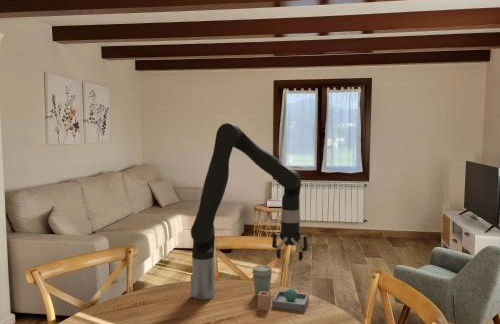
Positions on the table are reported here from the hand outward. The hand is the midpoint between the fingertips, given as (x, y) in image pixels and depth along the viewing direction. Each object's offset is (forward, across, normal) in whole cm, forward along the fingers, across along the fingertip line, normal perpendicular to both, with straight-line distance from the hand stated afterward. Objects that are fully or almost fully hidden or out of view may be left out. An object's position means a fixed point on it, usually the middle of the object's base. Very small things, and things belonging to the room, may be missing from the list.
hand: (289, 259), depth 164 cm
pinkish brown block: (+19, -9, -7) cm, 22 cm away
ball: (+17, +1, 0) cm, 17 cm away
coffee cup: (+19, -13, +5) cm, 23 cm away
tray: (+18, +1, 0) cm, 19 cm away
